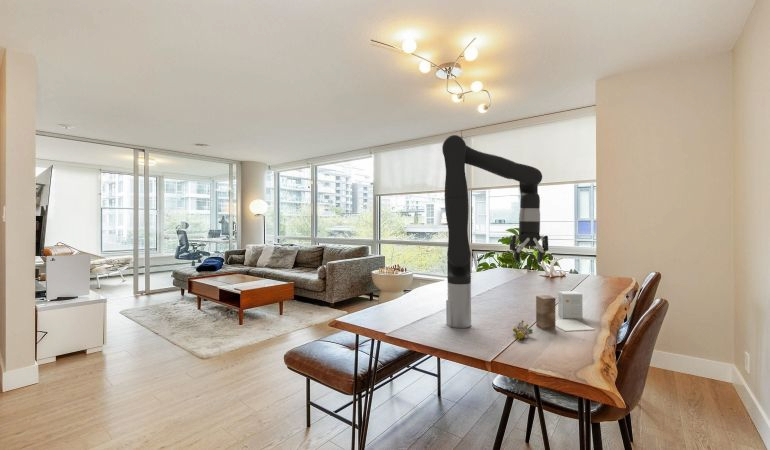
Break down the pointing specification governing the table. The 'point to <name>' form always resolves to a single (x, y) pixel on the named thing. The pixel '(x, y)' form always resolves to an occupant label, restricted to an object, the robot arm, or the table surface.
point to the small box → (570, 304)
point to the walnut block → (545, 312)
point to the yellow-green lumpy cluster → (522, 330)
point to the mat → (571, 325)
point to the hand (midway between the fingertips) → (528, 261)
